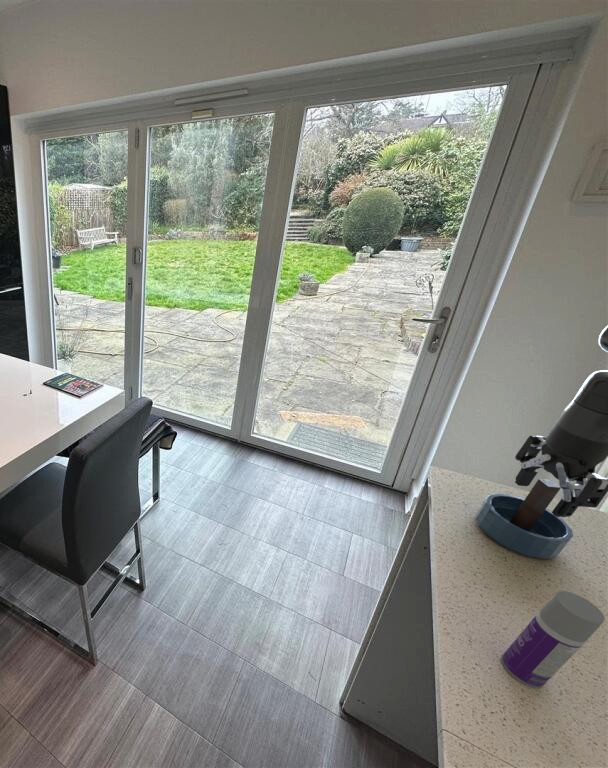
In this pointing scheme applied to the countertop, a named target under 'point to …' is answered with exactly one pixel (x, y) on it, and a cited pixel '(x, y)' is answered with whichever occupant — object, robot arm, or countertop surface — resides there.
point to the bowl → (538, 542)
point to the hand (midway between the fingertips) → (538, 499)
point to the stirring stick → (535, 504)
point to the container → (551, 638)
